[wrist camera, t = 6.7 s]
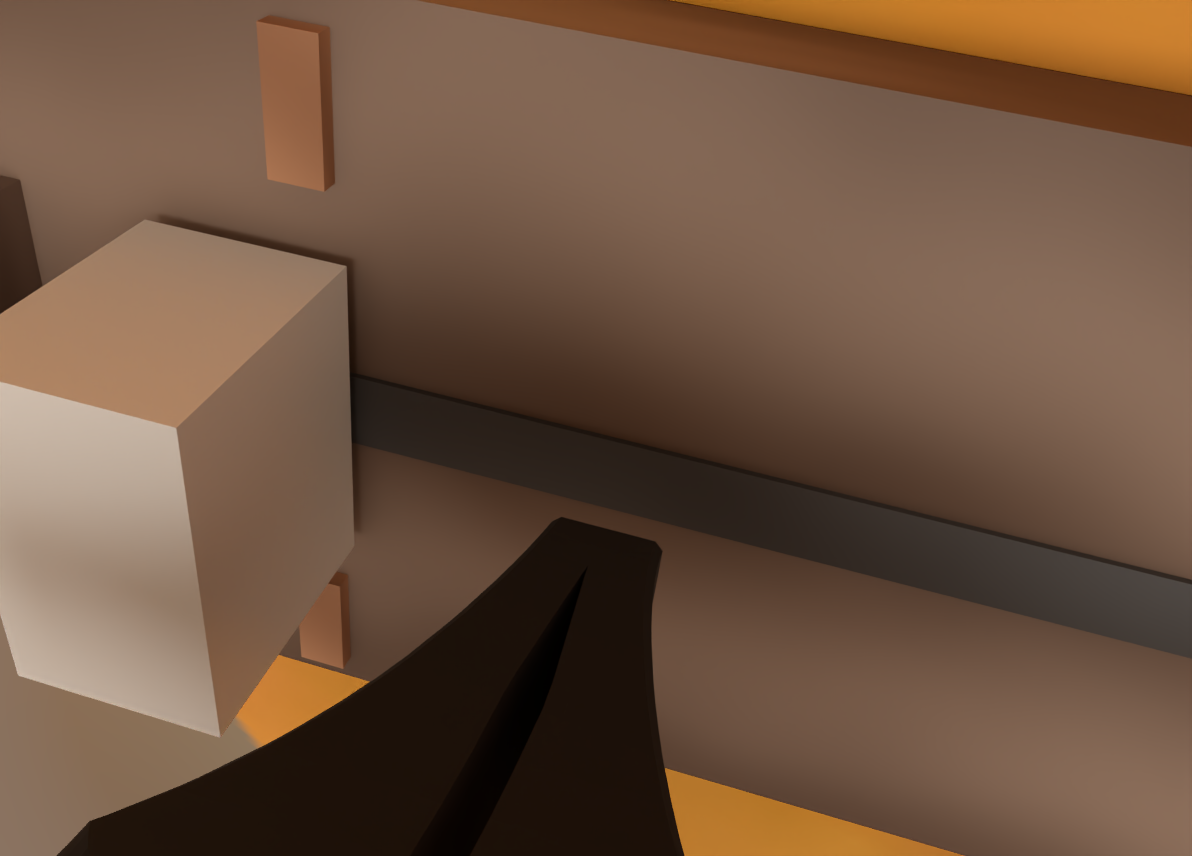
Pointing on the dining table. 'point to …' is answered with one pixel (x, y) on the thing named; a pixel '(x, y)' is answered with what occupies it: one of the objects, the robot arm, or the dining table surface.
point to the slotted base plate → (712, 362)
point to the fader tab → (172, 468)
